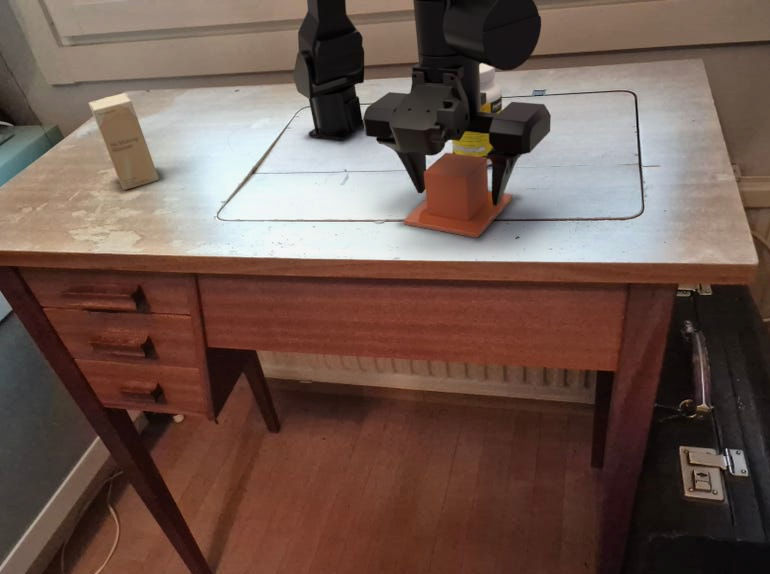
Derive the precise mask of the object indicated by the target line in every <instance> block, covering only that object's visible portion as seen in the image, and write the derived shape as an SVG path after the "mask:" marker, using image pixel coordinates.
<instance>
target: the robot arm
mask: <svg viewBox="0 0 770 574" xmlns="http://www.w3.org/2000/svg"><path fill="white" fill-rule="evenodd" d="M412 1H413V9H414V11H413V13H414V23H415V34H416V44H417V55H418V63H416V64H415V65H413V66H412V67H411V69H412V73H411V88H410V91H409V92H408V93H406V92H405V93H404V92H392V91H390V92H387V93H386V94H385V95H383V96H382V97H380V98H379V99H378V100H376V101H374V102H373V103H371V104H370V105H368V106H367V107H366V109H365V110H364V114H363V116H362V108H361V103H360V97H359V96H357V90H356V85H358V84H364V83H365V49H364V46H363V39H364V37H363V35H362V34H361V33H360V31H359V30H358V29H357V27H356V26H355V24H354V22H352V20H351V19H350V16H348V13H347V3H346V2H347V1H346V0H306V4H307V12H306V14H305V16H304V18H303V21H302V23H301V25H300V27H299V29H298V32H297V41H298V43H297V44H298V52H297V54H296V58H295V62H294V63H295V64H294V70H293V74H292V78H293V81H294V84H295V87H296V91H297V93H299V94H300V95H302V96H304V97H305V98H307V100H308V103H309V107H310V112H311V117H312V122H313V127H314V128H313V129H312V130H310V131H308V137H310V138H319V139H325V140H326V139H327V140H333V141H334V140H335V141H345V140H347V139H349V138H350V137H351V136H352V135H355V133H357V132H358V131H360V130H361V129H362V128H364V134H365V136H366V137H371V138H375V141H376V142H377V143H378V144H380V145H384V146H386V147H388V148H389V149H391V150H393V151H394V152H395V153H396V155H397V156H398V158H399V160H400V162H401V163H402V165H403V167H404V169H405V171H406V172H407V174H408V177H409V179H410V181H411V182H412V184H413V186H414V188H415V190H416V192H417V193H418V194H420V195H421V194H423V193H424V192H426V191H425V181H424V171H426V170H427V156H432V157H433V156H437V155H438V154H440V153H441V152H442V151H443V150H444V149H445V147H446V143H447V142H448V141H452V140H456V141H459V140H460V139H461V138H462V136H463V134H464V133H465V131H467V132H476V133H486V134H489V143H490V144H491V146H492V147H493V149H492V150H491V151H490V152H489V153H487V156H488V157H489V159H490V160H491V162H492V164H491V192H492V202H493V205H495V206H497V205H498V204H499V203H500V201H501V198H502V196H503V193H505V191H506V189H507V185H508V183H509V180H510V178H511V176H512V173H513V170H514V168H515V166H516V163H517V162H518V159H519V158H521V156H522V155H526V154H530V153H532V152H533V150H534V149H535V148H536V147H537V146H538V145H539V144H540V143H541V142H542V141H543V140H544V139H545V138H546V137H547V135H548V134H550V132H551V120H552V118H551V117H552V115H551V113H550V111H549V110H548V108H547V106H546V104H544V103H534V102H521V101H511V102H510V103H508V104H507V105H506V106H504V108H502V111H501V112H500V113H499V114H498V113H487V112H481V107H482V106H483V105H484V104H486V93H482V92H480V71H479V65H480V64H481V63H483V64H485V65H488V66H491V67H494V68H495V69H497V70H500V71H512V70H515V69H517V68H519V67H520V66H522V65H523V64H524V63H525V62H527V61H528V59H530V57H531V56H532V54H533V53H534V51H535V49H536V47H537V45H538V42H539V39H540V37H541V31H542V17H541V16H540V13H539V9H538V6H537V5H536V3H535V1H534V0H412Z"/></svg>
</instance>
